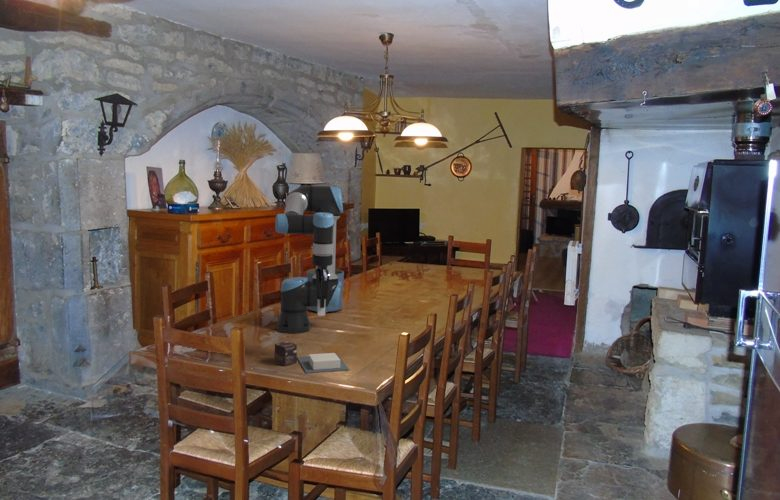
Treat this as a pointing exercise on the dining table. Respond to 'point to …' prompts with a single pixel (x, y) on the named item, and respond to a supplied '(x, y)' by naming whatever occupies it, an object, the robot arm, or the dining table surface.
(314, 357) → the light grey flat block
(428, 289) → the dining table surface
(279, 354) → the box
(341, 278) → the planter
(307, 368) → the mat
